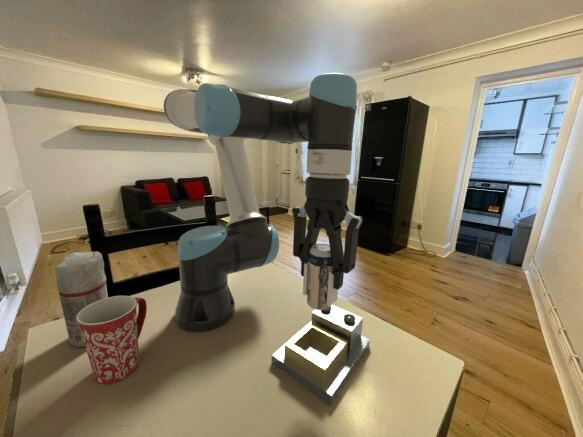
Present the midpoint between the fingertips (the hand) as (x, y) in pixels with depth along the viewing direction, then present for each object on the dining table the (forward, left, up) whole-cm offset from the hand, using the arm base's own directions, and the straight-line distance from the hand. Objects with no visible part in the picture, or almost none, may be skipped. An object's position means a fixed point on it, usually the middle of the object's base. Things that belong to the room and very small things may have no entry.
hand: (319, 296), depth 48 cm
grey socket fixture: (0, +3, -16) cm, 16 cm away
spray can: (-44, -27, -16) cm, 54 cm away
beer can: (0, 0, -2) cm, 2 cm away
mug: (-30, -25, -16) cm, 42 cm away
